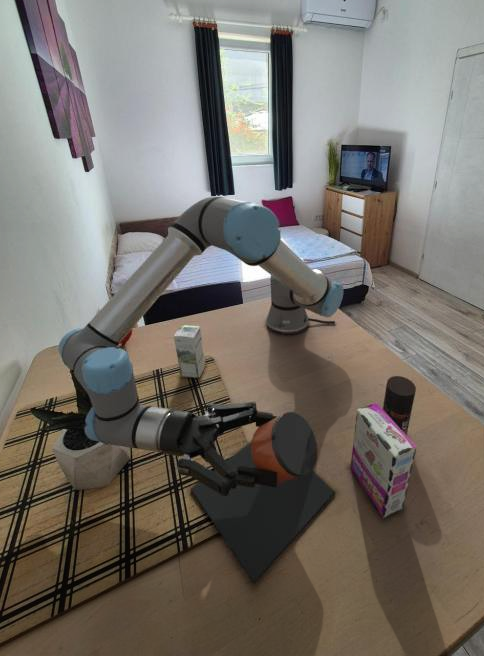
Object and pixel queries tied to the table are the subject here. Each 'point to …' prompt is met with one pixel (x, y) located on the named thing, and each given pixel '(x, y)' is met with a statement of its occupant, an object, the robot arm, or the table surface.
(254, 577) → the mat
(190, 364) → the syrup box
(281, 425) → the jar
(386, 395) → the deodorant
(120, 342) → the strawberry
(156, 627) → the table surface
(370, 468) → the candy bar box
